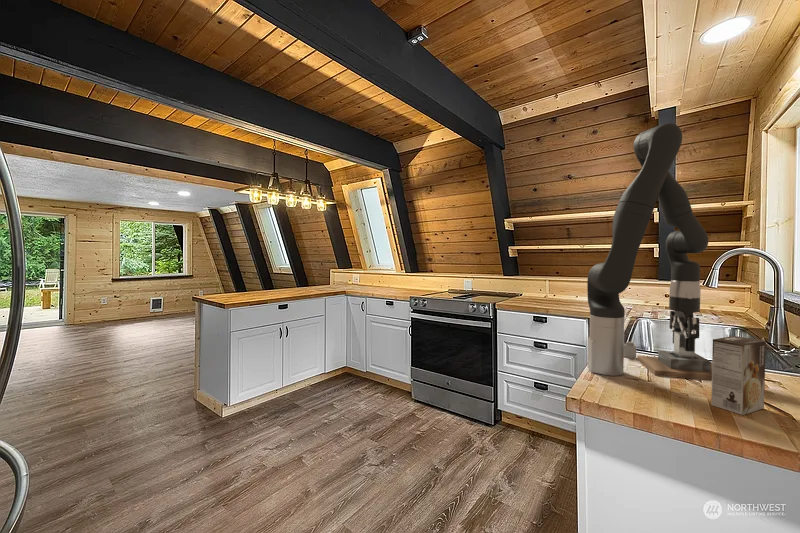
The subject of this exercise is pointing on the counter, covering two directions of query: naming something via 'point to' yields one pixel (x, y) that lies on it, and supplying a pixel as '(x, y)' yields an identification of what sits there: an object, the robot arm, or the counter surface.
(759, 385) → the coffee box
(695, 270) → the robot arm
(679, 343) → the key peg
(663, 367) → the dock
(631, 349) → the grey rectangular block
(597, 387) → the counter surface
